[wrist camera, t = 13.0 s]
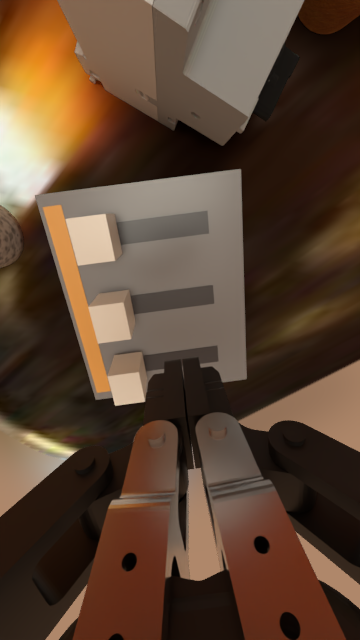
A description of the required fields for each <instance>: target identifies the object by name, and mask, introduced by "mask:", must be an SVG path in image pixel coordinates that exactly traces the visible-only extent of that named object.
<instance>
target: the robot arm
mask: <svg viewBox="0 0 360 640" xmlns="http://www.w3.org/2000/svg"><path fill="white" fill-rule="evenodd" d="M182 363H183V370H182ZM182 363H181V359H177V360H170V361H164V373H159V374H154V375H153V376H152V377H151V379H150V380H149V382H148V387H147V396H146V405H145V413H144V422H143V427H141V428H140V429H139V430H138V432H137V433H136V435H135V438H134V442H132V443H131V444H130V445H128V446H126V447H124V448H122V449H120V450H117V451H115V452H113V453H110V454H108V452H107V450H106V449H105V448H103V447H101V446H89V447H85V448H83V449H81V450H79V451H77V452H75V453H74V454H73V455H72V456H70V457H69V458H68V459H67V460H66V461H65V462H64V463H62V464H61V465H60V466H59V467H58V468H56V469H55V470H54V471H53V472H52V473H51V474H49V476H47V477H46V478H45V479H44V480H43V481H41V482H40V483H39V484H38V485H37V486H36V487H34V488H33V489H32V490H31V491H30V492H29V493H27V494H26V495H25V496H24V497H23V498H22V499H21V500H19V501H18V502H17V503H16V504H15V505H14V506H13V507H11V508H10V509H9V510H8V511H7V512H5V513H4V514H3V515H2V516H1V517H0V640H45V639H46V638H47V637H48V635H49V634H50V633H51V631H52V630H53V629H54V627H55V626H56V624H57V623H58V622H59V621H60V619H61V618H62V617H63V615H64V614H65V613H66V611H67V610H68V609H69V607H70V606H71V605H72V603H73V602H74V601H75V599H76V598H77V597H78V595H79V594H80V593H81V591H82V590H83V589H84V587H85V586H86V585H87V588H86V592H85V595H84V599H83V603H82V606H81V610H80V614H79V617H78V618H77V619H76V620H75V621H74V622H73V623H72V624H71V625H70V627H69V628H68V629H67V630H66V631H65V633H64V634H63V635H62V636H61V637H60V639H59V640H360V609H359V608H358V607H357V606H356V605H354V604H353V603H352V602H351V601H350V600H349V599H347V598H346V597H345V596H343V595H342V594H341V593H340V592H338V591H337V590H335V589H333V588H332V587H330V586H329V585H327V584H326V583H324V582H322V581H320V580H318V579H317V576H316V574H315V572H314V570H313V568H312V566H311V564H310V562H309V559H308V557H307V555H306V553H305V551H304V549H303V547H302V545H301V543H300V540H299V538H298V536H297V534H296V532H297V533H298V534H300V535H301V536H302V537H303V538H304V539H305V540H307V541H308V542H309V543H310V544H312V545H313V546H314V547H315V548H316V549H318V550H319V551H320V552H321V553H322V554H324V555H325V556H326V557H327V558H328V559H330V560H331V561H332V562H333V563H335V564H336V565H337V566H338V567H339V568H341V569H342V570H343V571H344V572H345V573H346V574H348V575H349V576H350V577H351V578H353V579H354V580H355V581H356V582H357V583H359V584H360V452H358V451H356V450H354V449H352V448H350V447H348V446H346V445H345V444H343V443H340V442H339V441H337V440H335V439H333V438H330V437H329V436H327V435H325V434H323V433H321V432H319V431H317V430H315V429H313V428H311V427H309V426H307V425H305V424H303V423H300V422H297V421H281V422H278V423H276V424H274V425H273V426H272V427H271V428H270V430H269V432H266V431H259V430H253V429H249V428H247V427H244V426H243V425H241V424H240V423H238V421H237V420H236V419H235V418H234V417H233V414H232V411H231V408H230V405H229V402H228V399H227V395H226V392H225V389H224V386H223V383H222V380H221V377H220V374H219V372H218V371H217V370H216V369H215V368H214V367H212V366H210V367H202V368H201V366H200V362H199V357H191V358H184V359H182ZM183 373H184V376H183ZM190 434H191V435H190ZM191 441H192V445H191ZM192 447H193V454H194V460H195V466H196V468H201V472H202V479H203V485H204V492H205V497H206V502H207V506H208V511H209V516H210V521H211V526H212V530H213V535H214V540H215V544H216V550H217V554H218V560H219V565H220V571H221V572H219V573H217V574H215V575H213V576H211V577H209V578H207V579H205V580H202V581H194V580H190V572H189V556H188V543H189V540H188V539H189V535H188V533H189V526H188V524H189V504H188V503H189V493H188V483H189V481H188V469H194V465H193V455H192ZM295 531H296V532H295Z"/></svg>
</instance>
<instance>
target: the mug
mask: <svg viewBox="0 0 360 640" xmlns="http://www.w3.org/2000/svg"><path fill="white" fill-rule="evenodd" d="M23 247H24V237H23V232H22V230H21V227H20V225H19V223H18V222H17V220H16V219H15V217H14V216H13V215H12V214H11V213H10V212H9V211H8V210H7V209H5V208H4V207H2V206H1V205H0V268H2V267H5V266H8V265H10V264H12V263H14V262H15V261H16V260H17V259H18V258H19V257H20V255H21V253H22V251H23Z"/></svg>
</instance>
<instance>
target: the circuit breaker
mask: <svg viewBox="0 0 360 640" xmlns="http://www.w3.org/2000/svg"><path fill="white" fill-rule="evenodd" d="M57 1H58V3H59V5H60V7H61V9H62V11H63V13H64V15H65V17H66V19H67V21H68V23H69V25H70V27H71V29H72V31H73V33H74V35H75V37H76V39H77V45H76V48H75V54H76V56H77V58H78V59H79V61H80V63H81V65H82V67H83V69H84V70H85V72H86V73H87V74H89V75H90V81H91V82H93V83H94V84H95V83H96V80H99V81H100V82H102V85H103V87H104V89H105V90H106V91H108V92H109V93H111V94H113V95H114V96H116V97H118V98H119V99H121V100H123V101H125V102H126V103H128V104H130V105H131V106H133V107H135V108H136V109H138V110H140V111H141V112H143V113H145V114H146V115H148V116H150V117H151V118H153V119H155V120H157V121H158V122H160V123H162V124H163V125H165V126H167V127H168V128H170V129H172V130H175V127H176V125H177V122H178V120H180V121H182V122H183V123H185V124H187V125H188V126H190V127H192V128H193V129H195V130H197V131H198V132H200V133H202V134H203V135H205V136H207V137H208V138H210V139H211V140H213V141H215V142H216V143H218V144H220V145H221V146H223V145H224V144H225V143H226V142H227V141H228V140H229V139H230V138H231V137H232V135H233V134H234V133H235V132H236V131H237V132H239V133H240V134H241V133H242V132H243V131H244V129H245V127H246V125H247V123H248V120H249V118H250V116H251V114H252V112H253V113H254V114H256V115H257V116H259V117H260V118H262V119H263V120H265V121H267V120H268V119H269V117H270V116H271V114H272V112H273V110H274V108H275V106H276V103H277V101H278V99H279V97H280V95H281V93H282V91H283V88H284V86H285V84H286V82H287V80H288V78H289V77H290V76H291V74H292V72H293V70H294V68H295V66H296V64H297V62H298V60H299V58H300V57H299V56H298V55H296V54H295V53H294V52H292V51H291V50H289V49H288V48H287V47H285V40H286V38H287V36H288V34H289V32H290V29H291V27H292V25H293V23H294V21H295V19H296V17H297V15H298V13H299V11H300V9H301V6H302V4H303V2H304V0H57Z"/></svg>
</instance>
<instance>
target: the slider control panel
mask: <svg viewBox="0 0 360 640" xmlns="http://www.w3.org/2000/svg"><path fill="white" fill-rule="evenodd" d="M35 198H36V201H37V204H38V208H39V211H40V214H41V218H42V221H43V224H44V228H45V231H46V234H47V238H48V241H49V244H50V248H51V251H52V254H53V258H54V261H55V264H56V268H57V271H58V275H59V278H60V281H61V285H62V288H63V291H64V295H65V298H66V301H67V305H68V308H69V311H70V315H71V318H72V321H73V325H74V328H75V331H76V335H77V338H78V341H79V345H80V348H81V352H82V355H83V358H84V362H85V365H86V368H87V372H88V375H89V378H90V382H91V385H92V388H93V392H94V395H95V398H96V400H98V399H105V398H112V397H113V396H112V392H111V388H110V384H109V381H108V377H107V376H108V373H109V370H110V367H111V364H112V361H113V358H114V355H120V354H127V353H135V352H142V354H143V360H144V365H145V370H146V375H147V387H148V382H149V380H150V379H151V377H152V376H153V375H154V374H159V373H164V361H170V360H177V359H181V363H182V359H184V358H191V357H199V362H200V366H201V368H202V367H210V366H212V367H214V368H215V369H216V370H217V371H218V372H219V374H220V377H221V380H222V382H229V381H236V380H243V379H247V372H246V335H245V299H244V263H243V226H242V190H241V169H236V170H228V171H220V172H213V173H205V174H197V175H189V176H181V177H173V178H166V179H158V180H150V181H142V182H134V183H127V184H119V185H111V186H103V187H95V188H88V189H80V190H72V191H64V192H56V193H49V194H41V195H35ZM99 214H115V219H116V224H117V229H118V234H119V239H120V244H121V249H122V255H121V256H120V257H119V258H118V259H117V260H116V261H110V262H102V263H95V264H87V265H80V266H78V265H77V261H76V257H75V253H74V250H73V246H72V242H71V238H70V235H69V231H68V227H67V223H66V220H65V219H68V218H76V217H84V216H91V215H99ZM122 290H129V292H130V297H131V302H132V307H133V312H134V317H135V326H134V330H133V334H132V338H131V339H129V340H122V341H114V342H107V343H100V344H98V342H97V338H96V335H95V331H94V327H93V323H92V320H91V316H90V312H89V308H88V307H89V305H90V304H91V303H92V302H93V300H94V299H95V298H96V296H97V295H98V294H100V293H107V292H115V291H122ZM182 370H183V363H182ZM183 376H184V373H183ZM147 387H146V393H147Z"/></svg>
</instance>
